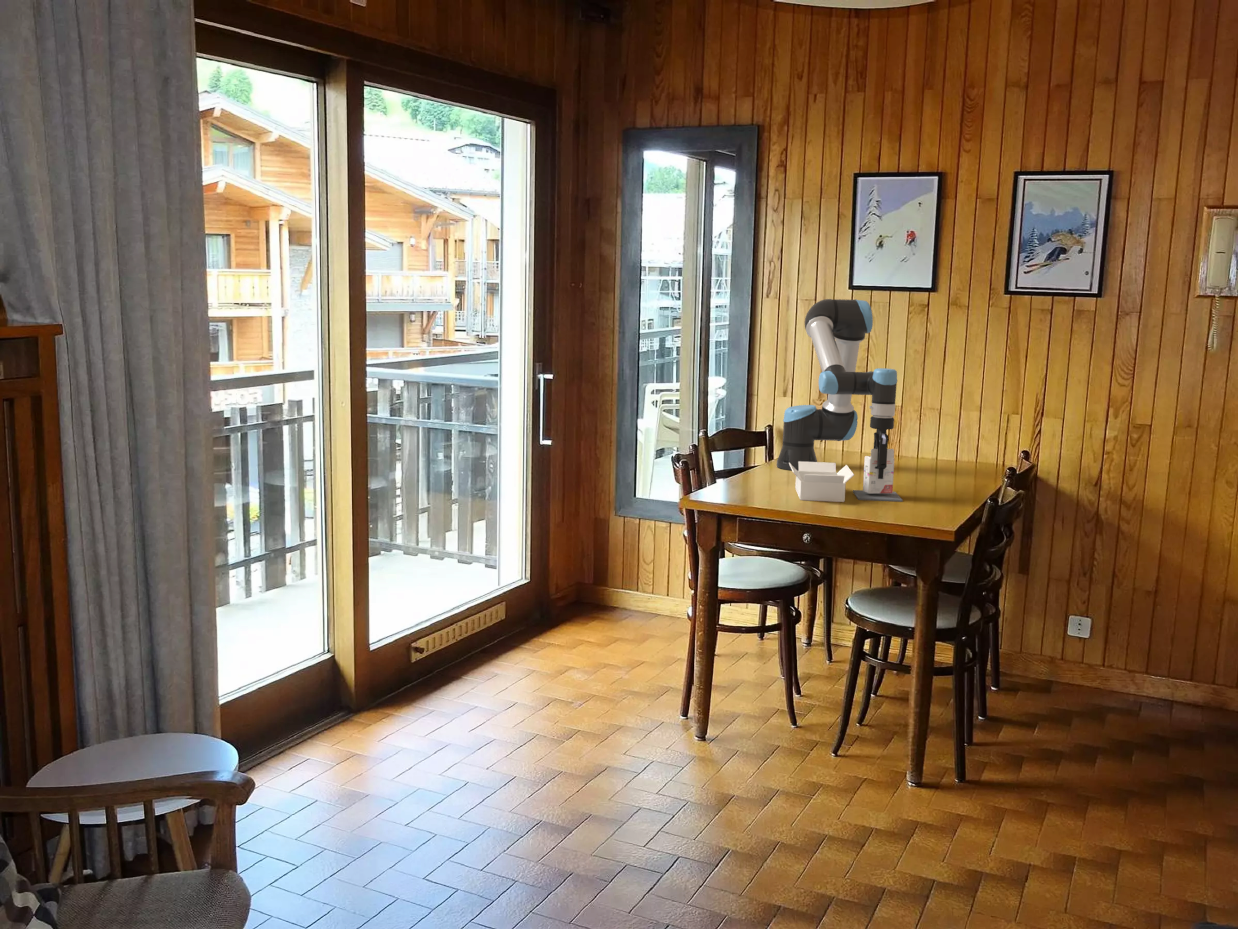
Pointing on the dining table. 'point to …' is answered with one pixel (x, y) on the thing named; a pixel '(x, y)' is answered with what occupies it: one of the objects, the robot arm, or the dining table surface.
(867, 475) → the ink cartridge box
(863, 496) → the mat
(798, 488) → the carton
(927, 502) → the dining table surface
